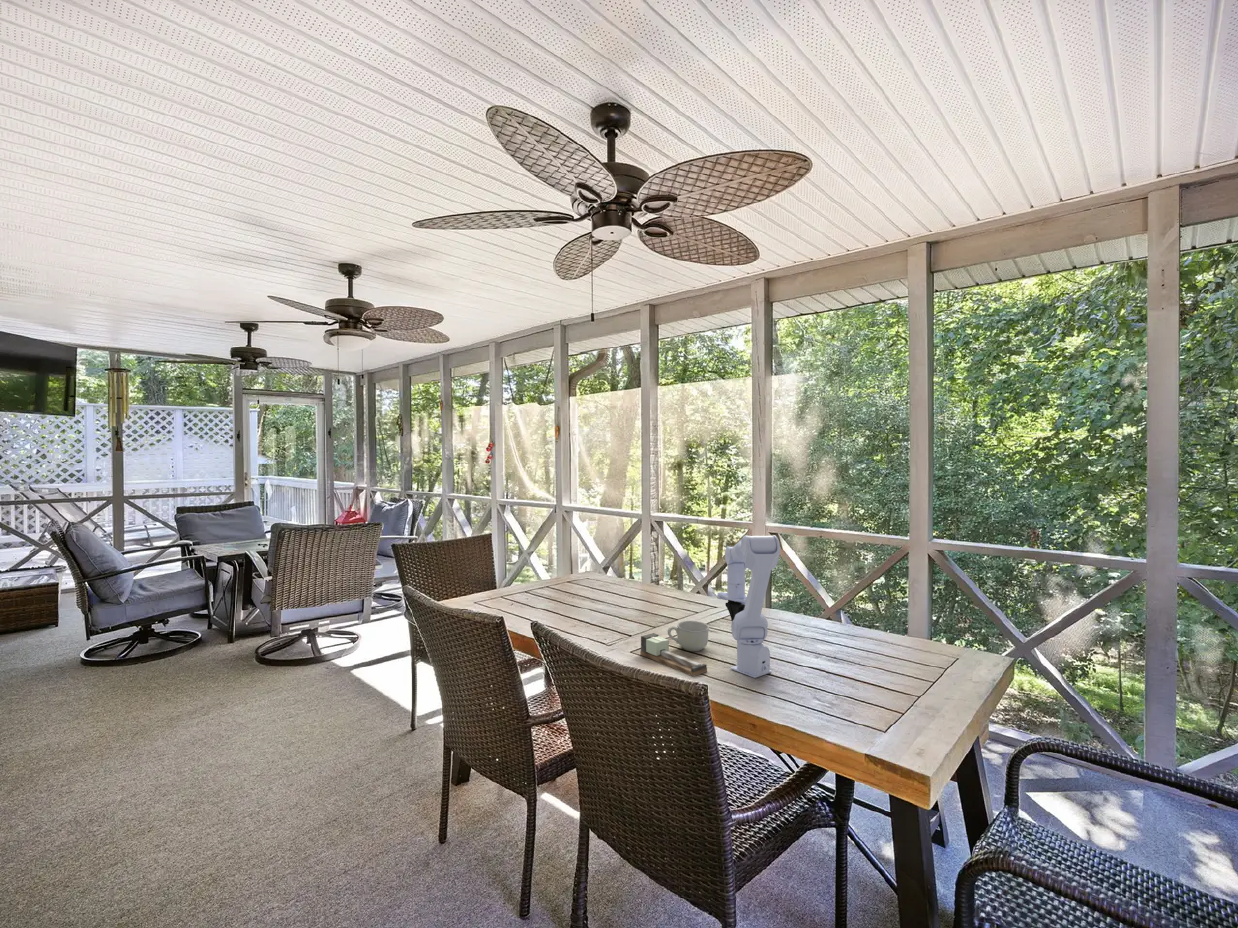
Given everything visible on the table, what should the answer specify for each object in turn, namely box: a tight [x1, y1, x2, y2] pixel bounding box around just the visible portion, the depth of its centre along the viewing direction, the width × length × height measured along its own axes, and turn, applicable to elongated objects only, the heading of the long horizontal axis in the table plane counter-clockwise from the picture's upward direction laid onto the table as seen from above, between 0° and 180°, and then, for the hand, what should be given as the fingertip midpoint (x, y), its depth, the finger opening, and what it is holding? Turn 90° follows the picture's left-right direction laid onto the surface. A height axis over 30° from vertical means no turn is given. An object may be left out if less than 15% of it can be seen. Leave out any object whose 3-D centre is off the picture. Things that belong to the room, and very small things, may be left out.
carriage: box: [646, 635, 670, 656], centre depth 188 cm, size 5×5×4 cm
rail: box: [639, 632, 708, 677], centre depth 182 cm, size 24×6×6 cm, turn 38°
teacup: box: [667, 620, 710, 652], centre depth 196 cm, size 14×11×8 cm
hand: (735, 624), depth 190 cm, fingers closed
